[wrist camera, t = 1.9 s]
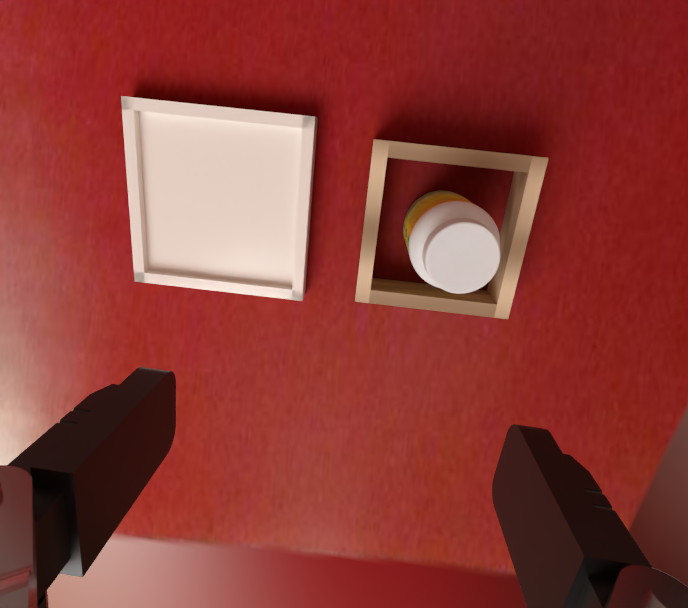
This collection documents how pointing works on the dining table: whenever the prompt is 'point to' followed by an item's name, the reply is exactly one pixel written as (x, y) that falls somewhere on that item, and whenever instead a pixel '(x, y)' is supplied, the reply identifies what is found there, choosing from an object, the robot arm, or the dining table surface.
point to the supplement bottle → (451, 242)
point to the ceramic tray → (219, 196)
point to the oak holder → (511, 234)
